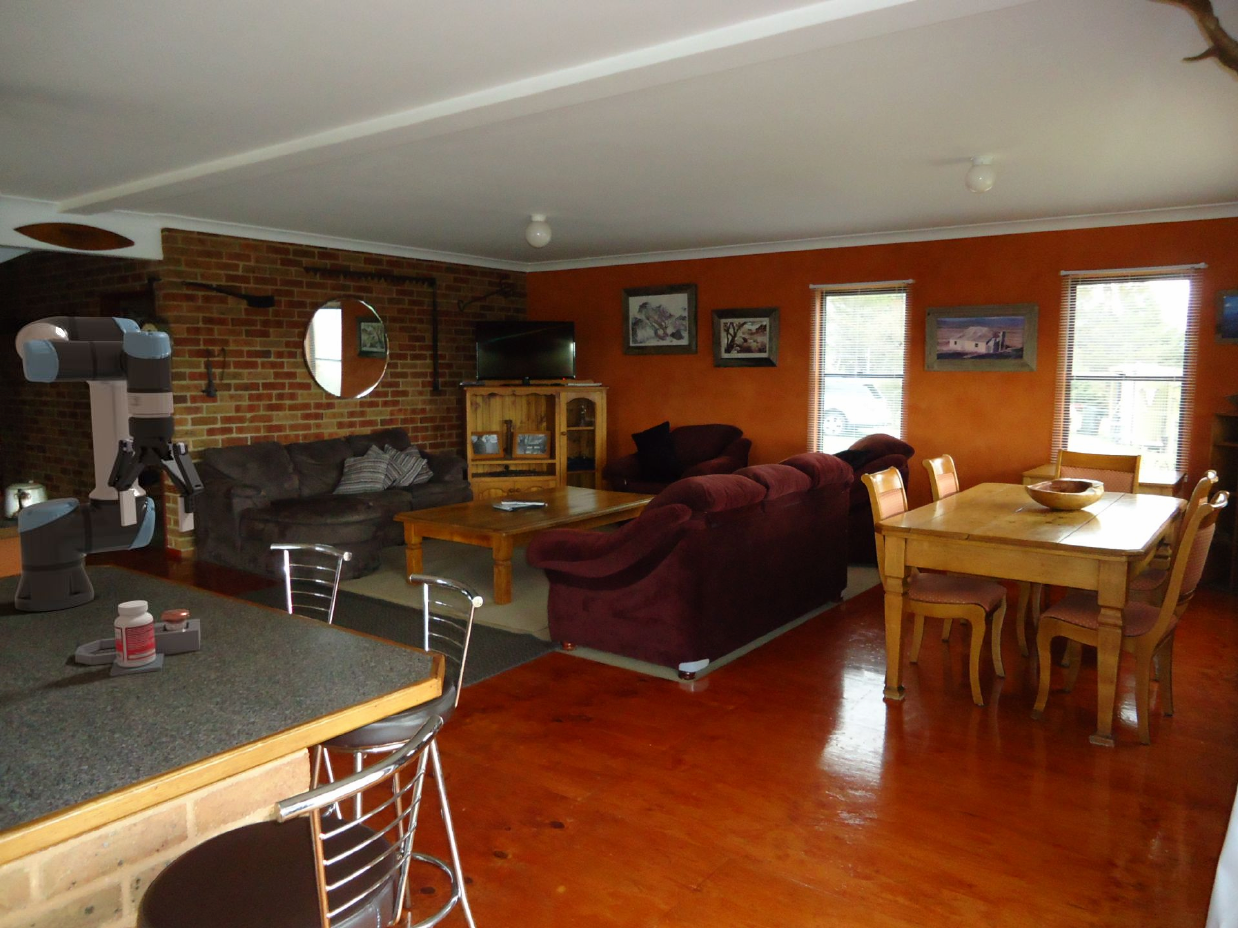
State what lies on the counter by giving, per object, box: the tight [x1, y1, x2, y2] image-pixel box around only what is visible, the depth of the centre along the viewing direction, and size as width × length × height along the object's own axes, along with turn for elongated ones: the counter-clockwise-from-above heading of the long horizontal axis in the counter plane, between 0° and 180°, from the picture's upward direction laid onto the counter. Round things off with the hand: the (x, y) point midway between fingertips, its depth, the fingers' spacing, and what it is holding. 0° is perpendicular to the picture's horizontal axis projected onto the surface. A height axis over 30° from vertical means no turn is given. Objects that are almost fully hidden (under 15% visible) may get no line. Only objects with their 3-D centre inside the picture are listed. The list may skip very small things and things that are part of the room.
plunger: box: [160, 608, 190, 631], centre depth 168 cm, size 5×5×6 cm
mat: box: [109, 653, 165, 677], centre depth 158 cm, size 8×8×1 cm
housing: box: [74, 618, 202, 666], centre depth 166 cm, size 10×21×4 cm, turn 114°
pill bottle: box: [113, 600, 156, 668], centre depth 157 cm, size 6×6×11 cm
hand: (157, 527), depth 164 cm, fingers open, 13 cm apart
